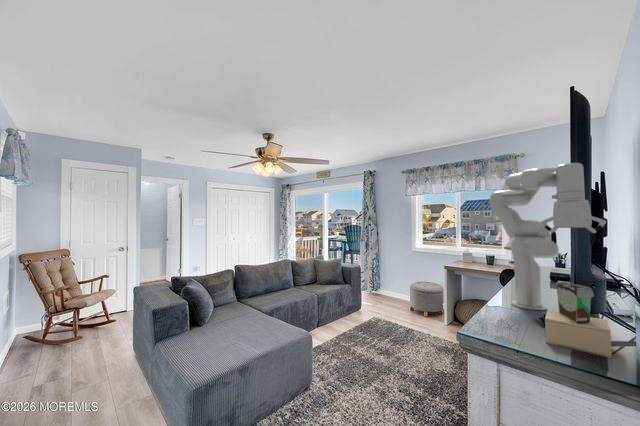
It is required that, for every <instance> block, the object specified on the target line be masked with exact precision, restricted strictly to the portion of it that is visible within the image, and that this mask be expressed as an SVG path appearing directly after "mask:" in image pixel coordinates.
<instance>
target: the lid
mask: <svg viewBox="0 0 640 426" xmlns="http://www.w3.org/2000/svg"><path fill="white" fill-rule="evenodd" d="M546 310H547V309H546ZM546 312H547V314H546V317H545V320H547V321H553V322H558V323H563V324H569V325H574V326H580V327H585V328H590V329H596V330H601V331H607V332H610V333H611V327H610V324H609V322H608V319H604V318H596V317H591V316H590V322H589V323H585V324H579V323H575V322H573V321H572V320H570V319H568V318H567V317H565V316H563V315H561V314H560V313H559V311H554V310H547V311H546Z"/></svg>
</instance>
